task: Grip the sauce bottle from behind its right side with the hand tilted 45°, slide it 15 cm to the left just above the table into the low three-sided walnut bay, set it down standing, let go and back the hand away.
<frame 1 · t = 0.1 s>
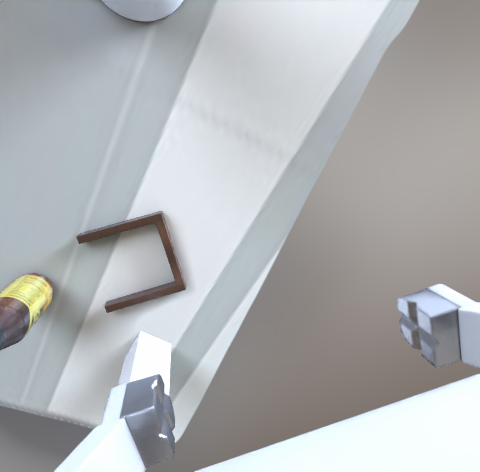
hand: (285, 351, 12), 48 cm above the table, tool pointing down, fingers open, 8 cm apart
sauce bottle: (36, 288, 58), on the table
milk: (148, 350, 64), on the table
bottle bay: (131, 261, 59), on the table
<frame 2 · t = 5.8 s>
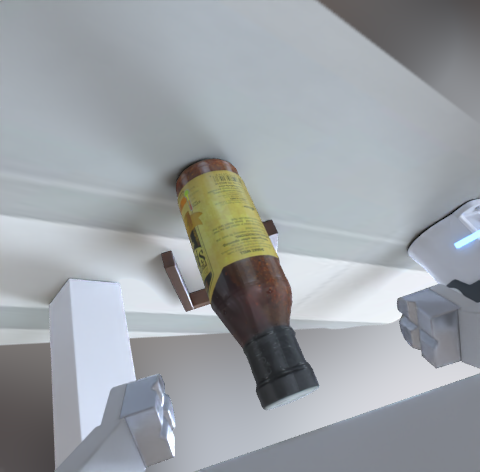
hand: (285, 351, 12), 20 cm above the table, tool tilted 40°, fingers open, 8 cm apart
sauce bottle: (206, 179, 34), on the table
milk: (84, 292, 42), on the table
bottle bay: (222, 261, 47), on the table
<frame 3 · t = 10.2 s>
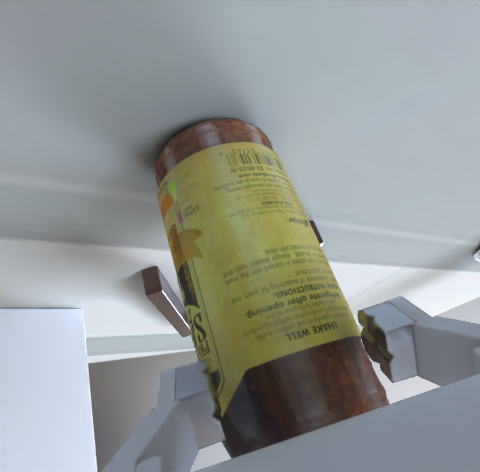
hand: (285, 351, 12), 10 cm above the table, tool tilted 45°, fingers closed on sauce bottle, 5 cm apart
sauce bottle: (213, 158, 19), on the table, touching gripper
milk: (30, 321, 29), on the table
bottle bay: (234, 275, 32), on the table
when the fingers open (10 cm above the table, at t = 17.0 s): sauce bottle stays where it is, on the table.
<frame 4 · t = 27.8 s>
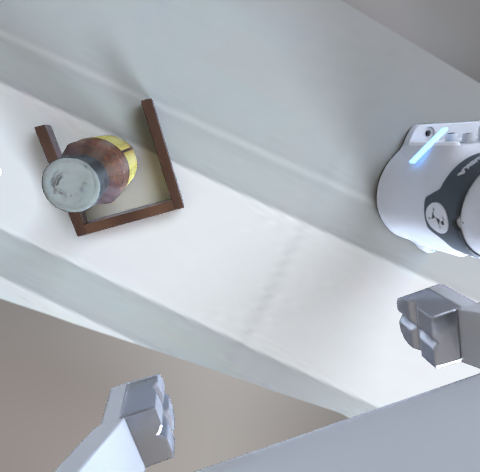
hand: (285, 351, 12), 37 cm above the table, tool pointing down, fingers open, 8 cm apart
sauce bottle: (114, 162, 45), on the table
bottle bay: (114, 163, 44), on the table
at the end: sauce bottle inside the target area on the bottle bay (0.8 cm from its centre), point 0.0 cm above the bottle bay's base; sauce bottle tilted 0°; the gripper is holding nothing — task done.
